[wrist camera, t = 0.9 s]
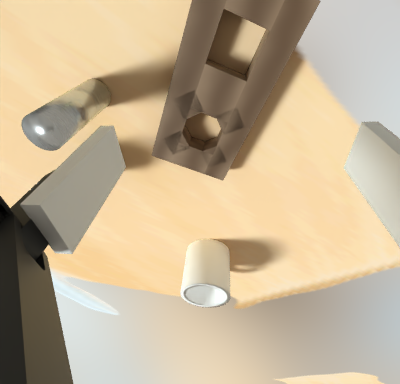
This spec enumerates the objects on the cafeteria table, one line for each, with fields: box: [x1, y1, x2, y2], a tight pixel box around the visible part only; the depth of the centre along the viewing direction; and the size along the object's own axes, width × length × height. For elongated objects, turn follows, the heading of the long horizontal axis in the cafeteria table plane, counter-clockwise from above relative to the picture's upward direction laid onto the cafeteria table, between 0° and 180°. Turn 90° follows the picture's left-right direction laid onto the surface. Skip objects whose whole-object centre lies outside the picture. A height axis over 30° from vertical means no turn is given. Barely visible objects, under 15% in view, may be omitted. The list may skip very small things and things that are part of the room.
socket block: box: [152, 0, 320, 180], centre depth 30 cm, size 12×24×3 cm, turn 160°
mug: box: [180, 239, 230, 307], centre depth 52 cm, size 14×10×11 cm
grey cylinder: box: [22, 79, 111, 151], centre depth 29 cm, size 4×4×13 cm
